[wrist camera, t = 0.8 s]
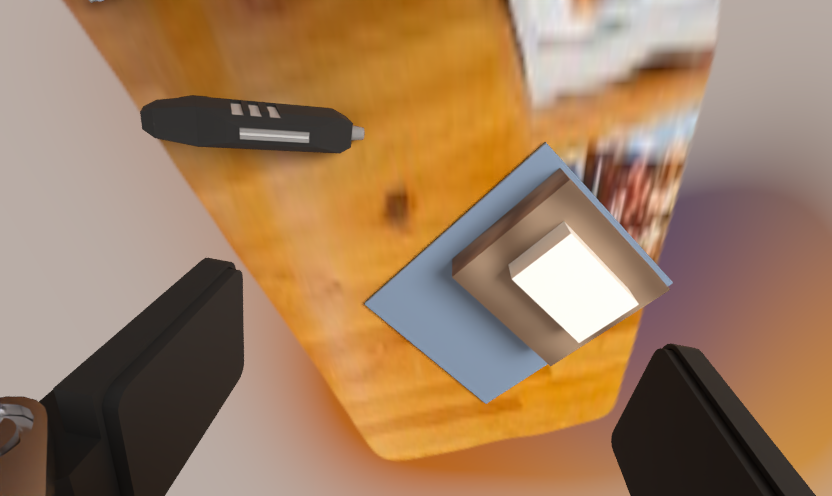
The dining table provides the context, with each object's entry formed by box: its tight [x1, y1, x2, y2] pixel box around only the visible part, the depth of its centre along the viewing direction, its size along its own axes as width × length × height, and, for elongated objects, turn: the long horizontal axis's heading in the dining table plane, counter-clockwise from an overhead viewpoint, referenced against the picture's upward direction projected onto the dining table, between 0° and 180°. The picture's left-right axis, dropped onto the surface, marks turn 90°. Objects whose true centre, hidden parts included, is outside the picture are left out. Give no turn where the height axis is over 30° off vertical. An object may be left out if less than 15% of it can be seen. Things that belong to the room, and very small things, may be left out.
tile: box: [509, 221, 639, 343], centre depth 37 cm, size 6×9×2 cm, turn 46°
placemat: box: [365, 142, 673, 404], centre depth 44 cm, size 24×19×1 cm
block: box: [452, 168, 670, 366], centre depth 40 cm, size 13×14×4 cm
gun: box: [140, 95, 364, 153], centre depth 36 cm, size 3×16×10 cm, turn 81°
